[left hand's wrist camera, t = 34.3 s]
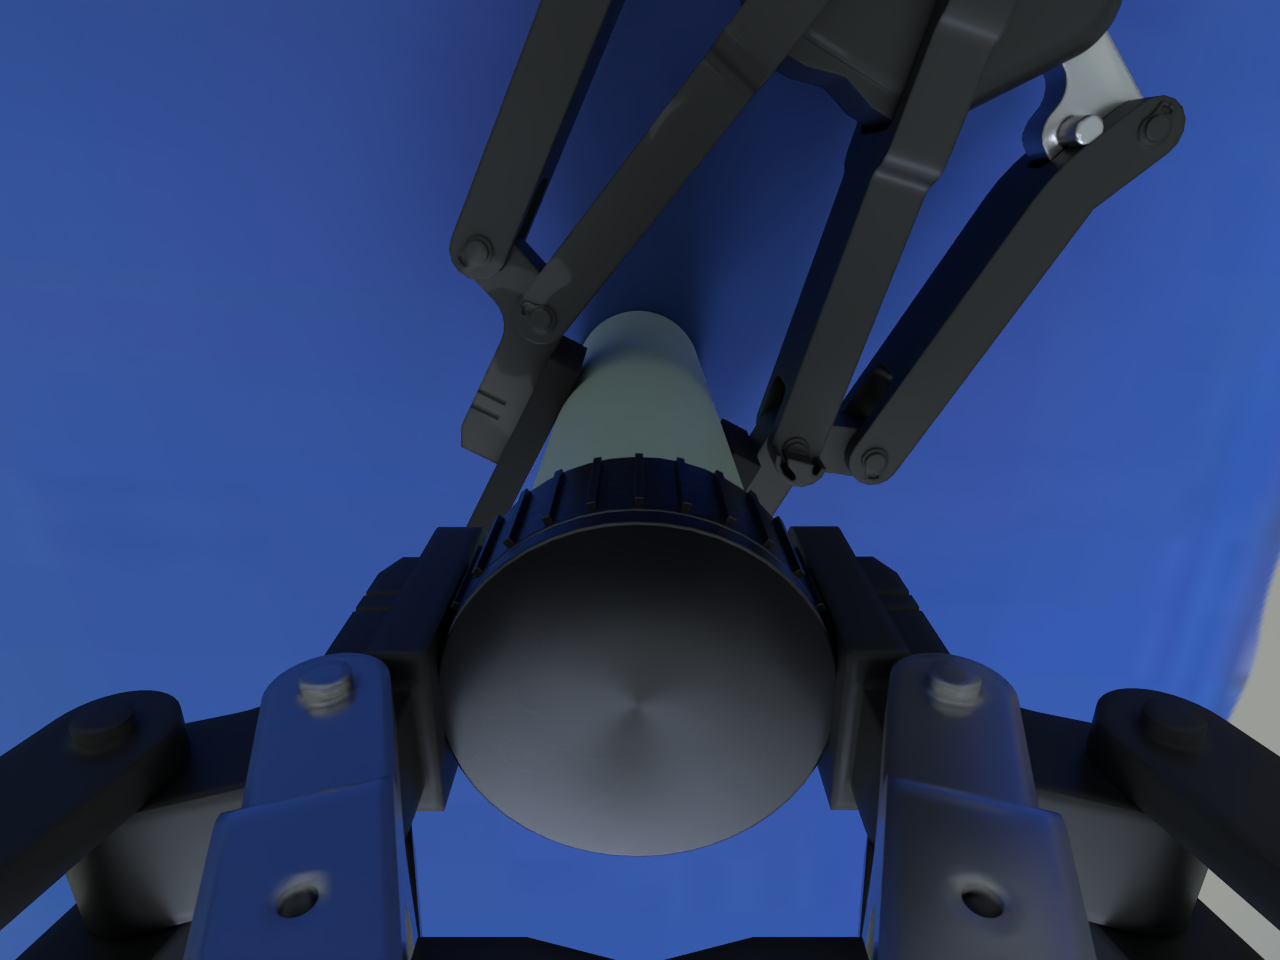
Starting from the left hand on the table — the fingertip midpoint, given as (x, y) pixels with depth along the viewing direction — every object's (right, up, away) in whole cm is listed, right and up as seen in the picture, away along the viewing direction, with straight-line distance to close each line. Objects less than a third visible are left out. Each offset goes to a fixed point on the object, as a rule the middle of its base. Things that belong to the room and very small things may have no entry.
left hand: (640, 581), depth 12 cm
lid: (0, -1, -3) cm, 3 cm away
